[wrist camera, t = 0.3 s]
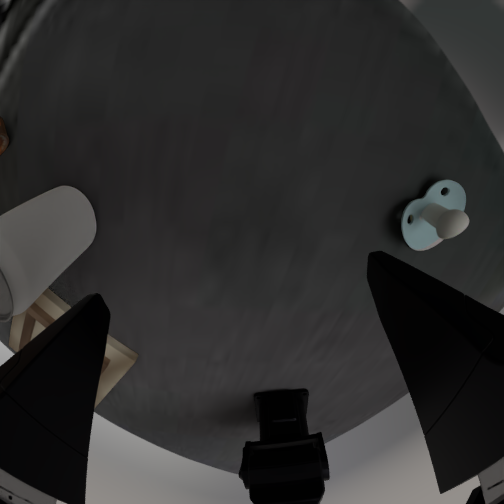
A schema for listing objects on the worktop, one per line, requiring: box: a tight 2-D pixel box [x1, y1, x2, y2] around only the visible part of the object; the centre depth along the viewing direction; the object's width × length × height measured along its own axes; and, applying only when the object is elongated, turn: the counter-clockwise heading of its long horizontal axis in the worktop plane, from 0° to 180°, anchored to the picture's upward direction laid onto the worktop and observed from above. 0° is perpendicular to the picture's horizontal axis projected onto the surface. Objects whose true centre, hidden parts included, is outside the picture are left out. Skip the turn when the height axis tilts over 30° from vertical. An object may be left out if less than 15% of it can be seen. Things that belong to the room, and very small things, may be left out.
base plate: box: [9, 288, 138, 407], centre depth 29 cm, size 16×16×2 cm
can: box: [0, 186, 96, 322], centre depth 17 cm, size 6×6×12 cm
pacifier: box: [401, 180, 469, 251], centre depth 20 cm, size 7×6×6 cm
